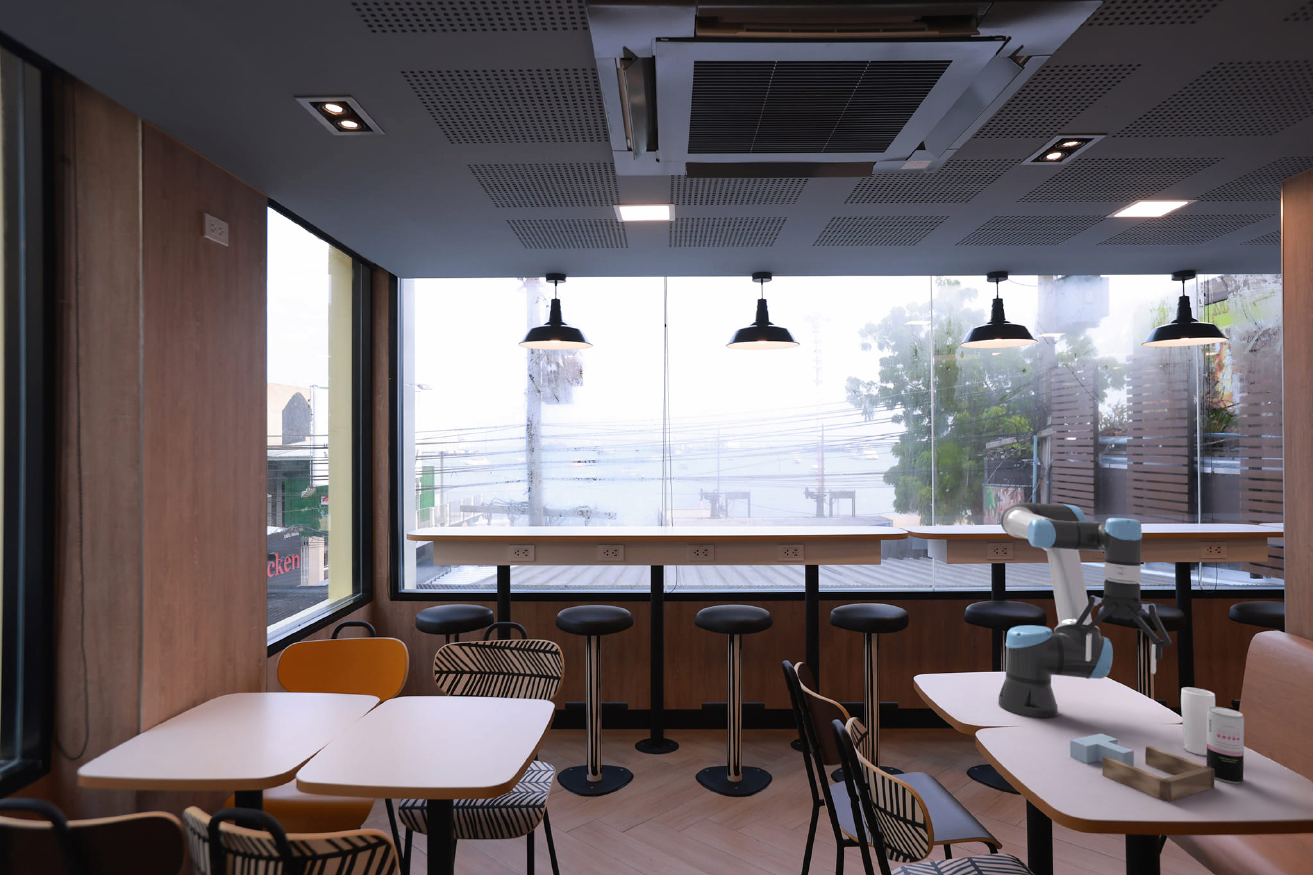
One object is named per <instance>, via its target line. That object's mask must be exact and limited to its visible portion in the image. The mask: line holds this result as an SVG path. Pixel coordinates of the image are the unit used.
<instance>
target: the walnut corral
mask: <svg viewBox="0 0 1313 875" xmlns="http://www.w3.org/2000/svg"><path fill="white" fill-rule="evenodd" d="M1144 762H1145V763H1144V764H1145V765H1146V766H1150V767H1152V768H1154V769H1158V770H1160V771H1162V772H1165V773H1168V774H1171V776H1168V777H1165V778H1163V777H1161V776H1159V775H1155V774H1154V773H1151V772H1148V771H1145V770H1143V769H1141V768H1138V767H1135V766H1134V767H1133V766H1130V765H1128V764H1125V763H1123V762H1120V761H1118V760H1115V759H1112V758H1110V757H1107V756H1106V757H1103V763H1102V767H1101V768H1102V770H1101V771H1102V772H1101V774H1102V776H1103V777H1106V778H1109V779H1110V780H1113V781H1116V782H1117V783H1121V784H1122V785H1126V786H1127V787H1130V788H1132V789H1135V790H1138V791H1140V792H1142V793H1144V794H1147V795H1149V796H1152V797H1155V798H1156V799H1159V800H1162V801H1164V802H1165V803H1169V802H1172V801H1175V800H1178V799H1181V798H1185V797H1188V796H1192V795H1195V794H1197V793H1202V792H1205V791H1207V790H1211V789H1214V788H1215V778H1214V775H1215V769H1212V768H1210V767H1207V765H1204V764H1201V763H1197V762H1196V761H1193V760H1189V759H1188V758H1184V757H1181V756H1179V755H1175V754H1173V753H1170V752H1167V751H1165V750H1161V749H1159V748H1156V747H1153V746H1150V745H1148V746H1145V761H1144Z"/></svg>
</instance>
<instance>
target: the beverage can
mask: <svg viewBox="0 0 1313 875" xmlns="http://www.w3.org/2000/svg"><path fill="white" fill-rule="evenodd" d="M1244 741H1245V717H1244V714H1243V713H1242V712H1239V711H1238V710H1234V709H1231V708H1226V707H1221V706H1215V707H1209V708H1208V711H1207V755H1206V766H1207V767H1210V768H1212V769H1215V775H1214V780H1218V781H1221V782H1223V783H1224V782H1225V783H1228V784H1240V783H1242V782H1244V769H1245V768H1244V767H1245V766H1244V764H1245V763H1244V759H1245V758H1244V754H1245V753H1244V750H1245V746H1244V745H1245V744H1244Z"/></svg>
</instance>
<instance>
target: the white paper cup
mask: <svg viewBox="0 0 1313 875" xmlns="http://www.w3.org/2000/svg"><path fill="white" fill-rule="evenodd" d="M1180 693H1181V694H1180V707H1181V708H1180V709H1181V720H1182V733H1183V748H1184V750H1186V751H1187V752H1189V753H1191V754H1194V755H1197V754H1198V756H1207V711H1208V708H1209V707H1216V694H1215V693H1214V692H1212V691H1209V690H1206V689H1204V688H1202V689H1201V688H1199V687H1198V688H1197V687H1189V686H1188V687H1187V686H1186V687H1182V688H1181V692H1180Z"/></svg>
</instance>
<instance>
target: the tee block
mask: <svg viewBox="0 0 1313 875" xmlns="http://www.w3.org/2000/svg"><path fill="white" fill-rule="evenodd" d="M1118 742H1119V741H1118V738H1115V737H1112V736H1110V735H1106V734H1103V733H1097V734H1092V735H1088V736H1082V737H1079V738H1075V739H1070V742H1069V744H1070V746H1069V747H1070V750H1069V752H1070V754H1069V757H1070V758H1072V759H1075V760H1077V761H1079V762H1082V763H1084V764H1090V763H1094V762H1095V763H1096V762H1099V763H1103V757H1106V756H1107V757H1110V758H1112V759H1115V760H1118V761H1120V762H1123V763H1125V764H1128V765H1130V766H1133V767H1135V764H1134V763H1135V761H1134V759H1135V756H1134V755H1135V753H1134V752H1135V751H1134V750H1132V749H1130V748H1127V747H1124V746H1121V745H1119V744H1118Z"/></svg>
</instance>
